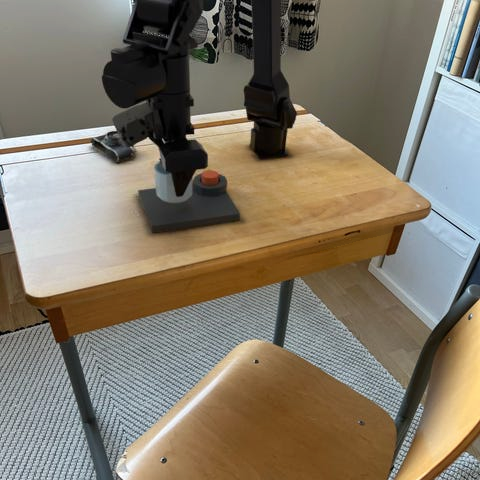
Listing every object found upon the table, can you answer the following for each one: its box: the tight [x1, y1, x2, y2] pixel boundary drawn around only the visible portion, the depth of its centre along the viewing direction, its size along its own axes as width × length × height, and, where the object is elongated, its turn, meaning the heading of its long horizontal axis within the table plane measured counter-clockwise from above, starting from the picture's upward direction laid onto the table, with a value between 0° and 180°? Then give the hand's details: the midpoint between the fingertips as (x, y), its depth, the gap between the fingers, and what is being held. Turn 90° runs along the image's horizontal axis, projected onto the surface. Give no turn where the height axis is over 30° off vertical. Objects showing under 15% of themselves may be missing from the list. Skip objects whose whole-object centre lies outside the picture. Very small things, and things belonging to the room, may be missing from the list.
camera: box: [90, 130, 138, 163], centre depth 102 cm, size 5×10×4 cm, turn 41°
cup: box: [153, 160, 194, 203], centre depth 83 cm, size 6×6×5 cm
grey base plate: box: [137, 172, 241, 234], centre depth 88 cm, size 16×12×3 cm
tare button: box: [201, 169, 220, 185], centre depth 90 cm, size 3×3×2 cm
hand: (174, 186), depth 84 cm, fingers closed on cup, 6 cm apart
